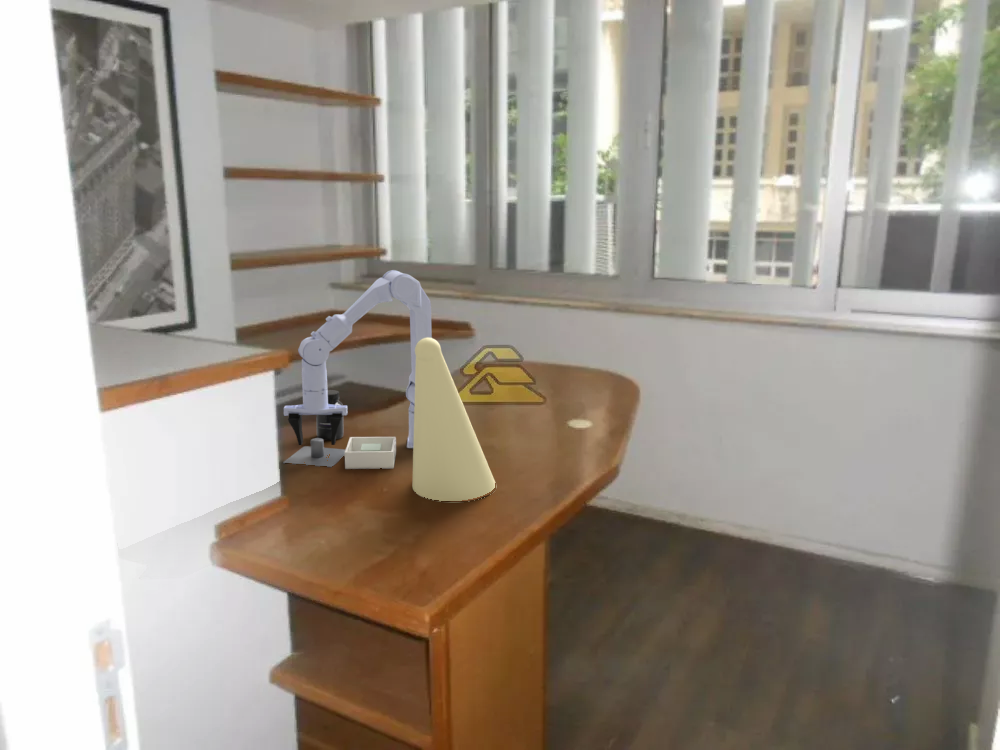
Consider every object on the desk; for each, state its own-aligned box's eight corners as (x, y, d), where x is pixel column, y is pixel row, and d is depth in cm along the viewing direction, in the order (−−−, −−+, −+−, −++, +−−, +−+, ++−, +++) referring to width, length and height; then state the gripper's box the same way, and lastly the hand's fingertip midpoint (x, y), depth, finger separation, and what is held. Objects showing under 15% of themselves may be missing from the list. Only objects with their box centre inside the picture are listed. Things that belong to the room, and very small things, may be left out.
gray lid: (350, 453, 185) (350, 434, 184) (331, 469, 174) (331, 450, 173) (304, 449, 187) (303, 430, 186) (282, 465, 176) (282, 446, 175)
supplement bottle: (320, 442, 190) (318, 396, 188) (314, 434, 196) (312, 390, 193) (347, 438, 194) (345, 393, 191) (339, 431, 199) (338, 387, 197)
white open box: (396, 452, 184) (395, 436, 183) (393, 468, 174) (393, 451, 173) (350, 452, 183) (350, 437, 182) (345, 468, 173) (344, 452, 172)
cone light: (435, 465, 176) (435, 317, 167) (508, 477, 169) (512, 324, 161) (381, 504, 153) (378, 335, 145) (463, 520, 147) (464, 344, 139)
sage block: (381, 455, 181) (381, 443, 180) (380, 461, 176) (380, 449, 176) (362, 455, 180) (362, 443, 180) (360, 462, 176) (360, 449, 175)
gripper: (348, 384, 181) (349, 438, 184) (286, 384, 180) (289, 438, 183) (344, 391, 174) (346, 447, 177) (280, 392, 173) (283, 448, 176)
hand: (317, 443), depth 180 cm, fingers open, 7 cm apart
